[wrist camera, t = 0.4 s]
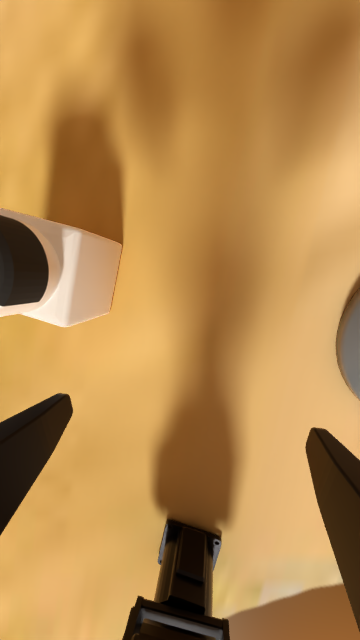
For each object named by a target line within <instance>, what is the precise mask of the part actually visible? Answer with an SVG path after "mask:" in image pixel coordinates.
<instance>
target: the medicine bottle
mask: <svg viewBox="0 0 360 640" xmlns="http://www.w3.org/2000/svg"><path fill="white" fill-rule="evenodd" d="M121 251H122V245H121V244H120V243H118V242H116V241H113V240H110V239H108V238H105V237H102V236H99V235H97V234H94V233H91V232H88V231H86V230H83V229H80V228H77V227H73V226H69V225H65V224H61V223H57V222H53V221H50V220H46V219H42V218H38V217H34V216H30V215H26V214H22V213H19V212H15V211H11V210H7V209H3V208H0V317H2V316H7V315H13V314H22V315H26V316H29V317H32V318H35V319H38V320H42V321H45V322H48V323H51V324H54V325H58V326H61V327H69V326H72V325H75V324H78V323H81V322H84V321H87V320H90V319H93V318H97V317H100V316H103V315H106V314H108V313H109V312H110V308H111V303H112V298H113V292H114V287H115V282H116V277H117V272H118V266H119V261H120V256H121Z"/></svg>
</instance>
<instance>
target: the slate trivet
mask: <svg viewBox="0 0 360 640" xmlns="http://www.w3.org/2000/svg"><path fill="white" fill-rule="evenodd" d="M336 356H337V362H338V366H339V369H340V372H341V375H342V377H343V379H344V381H345V383H346V385H347V386H348V387H349V389H350V390H351V392H352V393H353V394H354V395H355V396H356V397H357V398H358V399H359V400H360V288H359V289H358V291H357V292H356V293H355V295H354V296H353V297H352V299H351V300H350V302H349V304H348V305H347V307H346V309H345V311H344V313H343V316H342V318H341V320H340V324H339V328H338V331H337V338H336Z"/></svg>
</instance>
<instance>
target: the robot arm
mask: <svg viewBox="0 0 360 640" xmlns="http://www.w3.org/2000/svg"><path fill="white" fill-rule="evenodd" d="M72 413H73V408H72V404H71V399H70V396H69V395H68V394H62V393H58V394H56V395H54V396H52V397H50V398H48V399H46V400H44V401H42V402H40V403H38V404H36V405H34V406H32V407H30V408H28V409H26V410H24V411H22V412H20V413H18V414H16V415H14V416H12V417H10V418H8V419H6V420H4V421H3V422H1V423H0V535H1V534H2V532H3V531H4V529H5V527H6V526H7V524H8V523H9V521H10V519H11V518H12V516H13V515H14V513H15V512H16V510H17V508H18V507H19V505H20V504H21V502H22V501H23V499H24V497H25V496H26V494H27V493H28V491H29V490H30V488H31V486H32V485H33V483H34V482H35V480H36V479H37V477H38V475H39V474H40V472H41V471H42V469H43V468H44V466H45V464H46V463H47V461H48V460H49V458H50V456H51V455H52V453H53V451H54V449H55V447H56V446H57V444H58V442H59V440H60V438H61V436H62V434H63V432H64V430H65V428H66V426H67V424H68V422H69V420H70V418H71V416H72ZM306 454H307V458H308V463H309V467H310V472H311V476H312V481H313V485H314V490H315V494H316V498H317V502H318V506H319V509H320V512H321V515H322V518H323V521H324V524H325V527H326V530H327V534H328V537H329V540H330V543H331V546H332V549H333V552H334V555H335V558H336V561H337V564H338V567H339V570H340V573H341V576H342V579H343V583H344V586H345V588H346V592H347V595H348V598H349V601H350V604H351V607H352V610H353V613H354V616H355V619H356V622H357V625H358V628H359V631H360V460H359V459H358V458H357V457H355V456H354V455H353V454H352V453H351V452H350V451H349V450H348V449H347V448H346V447H345V446H343V445H342V444H341V443H340V442H339V441H338V440H337V439H336V438H335V437H334V436H333V435H332V434H330V433H329V432H328V431H327V430H326V429H322V428H315V427H313V428H311V430H310V432H309V436H308V439H307V442H306ZM220 547H221V538H220V537H219V536H217V535H214V534H211V533H208V532H205V531H202V530H199V529H196V528H193V527H190V526H187V525H185V524H182V523H179V522H176V521H173V520H168V521H167V523H166V527H165V531H164V536H163V540H162V544H161V549H160V553H159V557H158V563H159V564H160V565H161V568H160V573H159V578H158V583H157V588H156V593H155V598H154V601H151V600H147V599H144V597H142V596H138V598H137V601H136V604H135V607H134V606H133V608H131V611H130V615H129V619H128V622H127V626H126V630H125V633H124V636H123V639H122V640H230V636H229V621H228V619H224V618H222V619H218V618H215V617H212V593H213V570H214V567H215V564H216V560H217V557H218V554H219V551H220Z"/></svg>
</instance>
